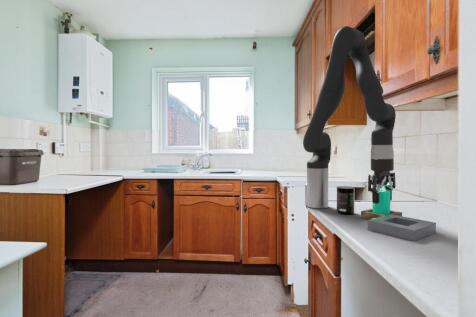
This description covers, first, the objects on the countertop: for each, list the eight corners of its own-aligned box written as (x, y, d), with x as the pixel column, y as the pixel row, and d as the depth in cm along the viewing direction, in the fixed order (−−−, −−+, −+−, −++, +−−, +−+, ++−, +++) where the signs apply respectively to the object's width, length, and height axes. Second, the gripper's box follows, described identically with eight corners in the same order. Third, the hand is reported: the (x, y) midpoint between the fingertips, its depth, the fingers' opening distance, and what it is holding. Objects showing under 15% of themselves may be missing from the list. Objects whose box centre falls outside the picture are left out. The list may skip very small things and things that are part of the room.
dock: (367, 229, 93) (367, 218, 92) (390, 222, 101) (390, 212, 100) (414, 241, 81) (414, 228, 81) (435, 232, 89) (436, 220, 89)
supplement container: (356, 212, 116) (356, 186, 116) (352, 216, 111) (352, 189, 110) (338, 210, 120) (338, 185, 120) (334, 214, 114) (334, 187, 114)
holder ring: (360, 217, 108) (360, 211, 108) (375, 214, 113) (375, 207, 113) (387, 223, 99) (387, 216, 99) (402, 219, 105) (402, 212, 105)
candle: (394, 219, 104) (394, 186, 104) (380, 221, 103) (381, 187, 102) (381, 216, 110) (382, 184, 110) (368, 217, 108) (368, 185, 108)
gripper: (382, 157, 112) (382, 198, 113) (361, 158, 104) (361, 202, 105) (402, 157, 106) (402, 201, 107) (381, 158, 98) (381, 205, 99)
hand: (382, 201), depth 106 cm, fingers open, 8 cm apart
